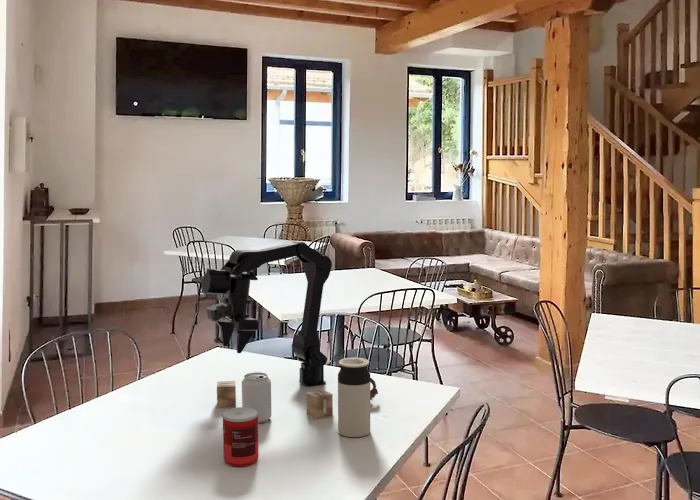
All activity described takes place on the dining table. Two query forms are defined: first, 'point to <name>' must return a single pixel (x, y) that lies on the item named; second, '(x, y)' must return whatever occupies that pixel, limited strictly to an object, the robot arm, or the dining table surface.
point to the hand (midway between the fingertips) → (231, 349)
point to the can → (257, 394)
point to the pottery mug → (373, 389)
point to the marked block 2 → (319, 404)
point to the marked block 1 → (226, 394)
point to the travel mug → (354, 397)
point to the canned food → (240, 436)
